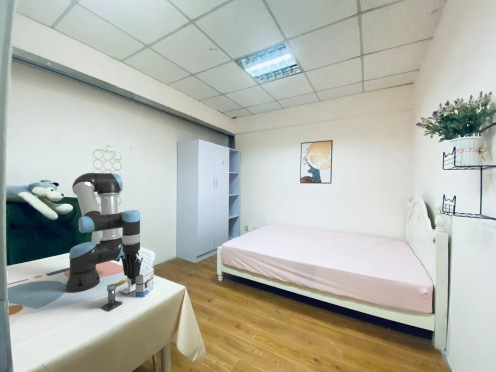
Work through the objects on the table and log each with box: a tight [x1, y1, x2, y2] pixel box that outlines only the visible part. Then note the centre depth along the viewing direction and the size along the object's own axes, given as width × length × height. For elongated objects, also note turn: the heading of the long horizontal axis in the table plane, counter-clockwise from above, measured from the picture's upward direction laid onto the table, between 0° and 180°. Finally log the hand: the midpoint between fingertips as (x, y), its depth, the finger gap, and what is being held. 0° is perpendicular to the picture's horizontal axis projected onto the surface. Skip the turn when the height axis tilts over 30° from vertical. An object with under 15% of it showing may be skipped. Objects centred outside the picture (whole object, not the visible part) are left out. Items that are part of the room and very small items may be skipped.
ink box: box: [135, 266, 155, 298], centre depth 109 cm, size 8×5×12 cm, turn 168°
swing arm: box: [106, 277, 128, 292], centre depth 103 cm, size 4×18×2 cm, turn 156°
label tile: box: [118, 288, 135, 297], centre depth 109 cm, size 6×4×1 cm, turn 66°
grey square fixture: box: [100, 289, 123, 312], centre depth 97 cm, size 6×6×8 cm
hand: (131, 290), depth 100 cm, fingers closed
